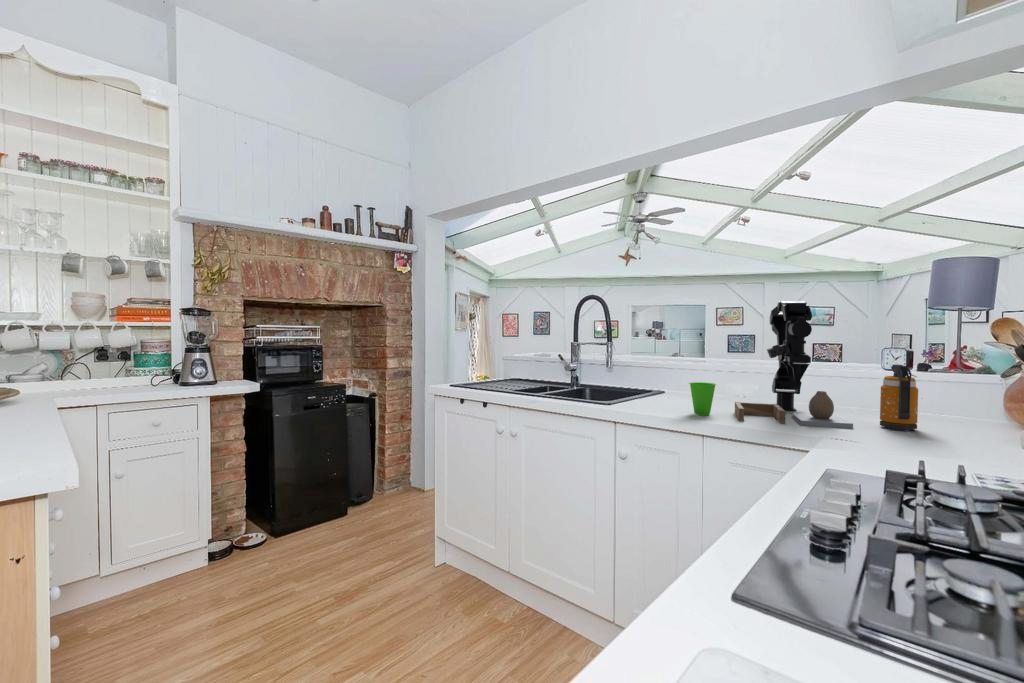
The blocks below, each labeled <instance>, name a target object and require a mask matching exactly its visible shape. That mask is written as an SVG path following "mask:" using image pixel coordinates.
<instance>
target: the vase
mask: <svg viewBox="0 0 1024 683" xmlns="http://www.w3.org/2000/svg"><path fill="white" fill-rule="evenodd" d="M808 412H809V414H811V415H812V416H813V417H814V418H817V419H829V418H830V417H831V416H832V415H834V412H835V404H834V401H833V399H832V398H831V397H830V396H829V395H828V393H827V391H823V390H817V391H816V393H815V394H814V395H813V396H812V397H811V398H810V400H809V402H808Z"/></svg>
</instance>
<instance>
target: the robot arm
mask: <svg viewBox="0 0 1024 683" xmlns="http://www.w3.org/2000/svg"><path fill="white" fill-rule="evenodd" d="M811 310H812V309H811V307H810V305H809V304H808V302H807V301H791V300H786V301H785V300H780V301H778V302H777V306H775V307H774V308H773V309H772V310H771V311H770V316H769V325H771V330H772V332H773V333H774V334H775V335H776V341H777V342H776V344H775V345H772V346H771V347H770V348H767V349H766V351H767V352H766V353H767V355H768V357H769V359H770V358H771V359H773V358H777V357H778V359H777V360H778V369H777V371H776V372H775V374H774V377H773V381H772V385H771V392H772V393H773V394H776V404H778V405H779V406H780V407H781V408H782V409H783V410H785V411H794V412H795V411H797V408H795V395H800V394H801V387H802V381H801V380H802V378H803V377H804V375H805V372H806V371H807V369H808V367H809V366H810V364H811V363H812V362H811V361H812V357H811V356H810V355H809V354H806V352H805V344H807V342H806V339H805V338H807V337H809V336H810V335H811V333H812V330H813V328H812V326H811V324H810V323H809V321H812V319H813V313H812V311H811Z"/></svg>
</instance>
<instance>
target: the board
mask: <svg viewBox="0 0 1024 683" xmlns="http://www.w3.org/2000/svg"><path fill="white" fill-rule="evenodd" d="M791 418H792V419H793V421H796V422H797V423H798V424H799V425H800V426H812V427H826V428H839V429H841V428H842V429H854V423H853V422H852V421H850V420H847V419H846V418H844V417H842V416H841V415H834V414H832V416H831V417H830V418H829V419H817V418H814V417H813V416H812V415H811V414H810V413H800V412H799V413H798V412H797V413H796V412H792V413H791Z"/></svg>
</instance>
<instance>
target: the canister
mask: <svg viewBox="0 0 1024 683" xmlns="http://www.w3.org/2000/svg"><path fill="white" fill-rule="evenodd" d="M890 369H891V370H892V373H893V375H885V376H884V377H883V379H882V380H883V381H882V385H880V400H879V401H880V402H879V403H880V405H879V407H880V408H879V409H880V410H879V426H882V427H884V428H885V429H887V430H892V431H902V432H903V431H904V432H911V431H912V430H918V415H919V414H918V413H919V410H918V409H919V388H918V387H917V381H916V378H917V377H918V376H917V375H914V374H912V372H911V369H910V367H909V365H908V364H906V365H903V364H892V365H891V368H890Z"/></svg>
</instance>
